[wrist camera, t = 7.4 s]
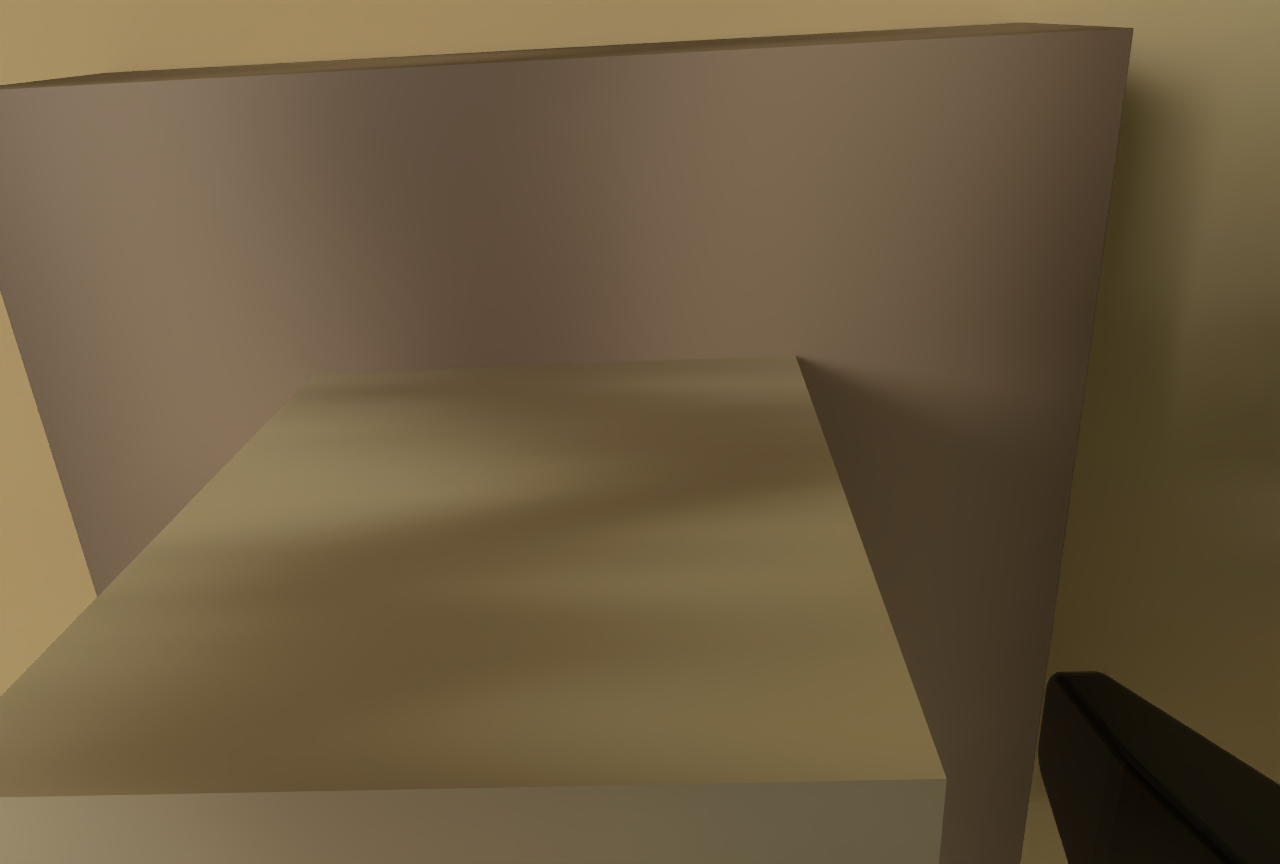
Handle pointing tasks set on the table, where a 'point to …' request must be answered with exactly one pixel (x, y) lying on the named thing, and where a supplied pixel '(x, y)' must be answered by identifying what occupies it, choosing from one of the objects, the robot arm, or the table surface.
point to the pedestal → (612, 286)
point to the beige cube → (491, 642)
